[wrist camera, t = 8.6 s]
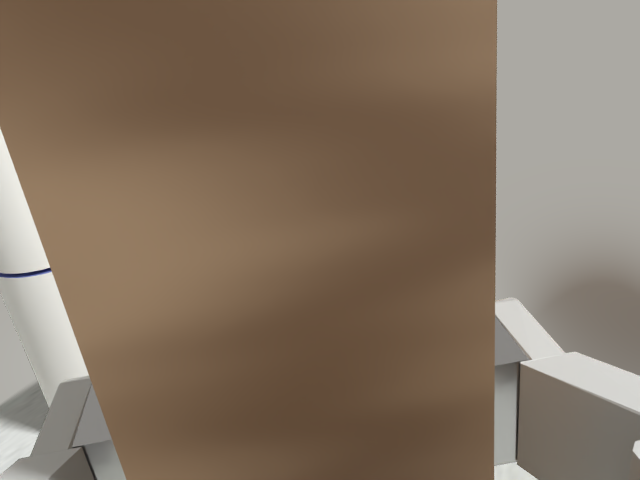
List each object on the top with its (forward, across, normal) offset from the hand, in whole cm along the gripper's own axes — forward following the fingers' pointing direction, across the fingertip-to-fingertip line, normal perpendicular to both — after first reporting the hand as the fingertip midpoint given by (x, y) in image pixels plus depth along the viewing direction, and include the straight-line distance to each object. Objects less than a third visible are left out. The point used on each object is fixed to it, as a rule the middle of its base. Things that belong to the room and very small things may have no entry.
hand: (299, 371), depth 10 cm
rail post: (-1, 0, +10) cm, 10 cm away
